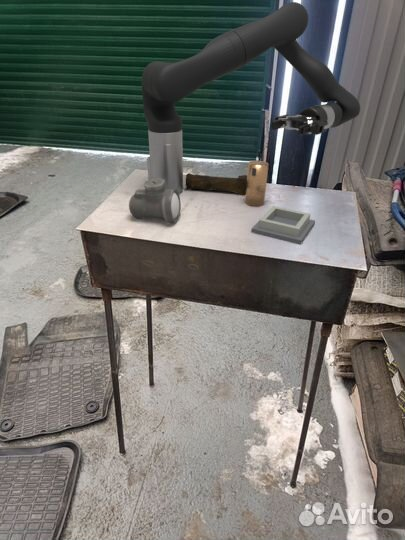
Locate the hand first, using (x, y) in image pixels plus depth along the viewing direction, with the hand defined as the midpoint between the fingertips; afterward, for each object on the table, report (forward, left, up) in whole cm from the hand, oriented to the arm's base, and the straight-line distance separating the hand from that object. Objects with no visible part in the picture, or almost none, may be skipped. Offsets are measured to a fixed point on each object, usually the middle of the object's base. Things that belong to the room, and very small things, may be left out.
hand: (285, 128), depth 102 cm
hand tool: (-14, -7, -18) cm, 24 cm away
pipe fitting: (-21, -33, -18) cm, 43 cm away
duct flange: (+9, -22, -18) cm, 30 cm away
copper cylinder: (-3, -11, -18) cm, 21 cm away
